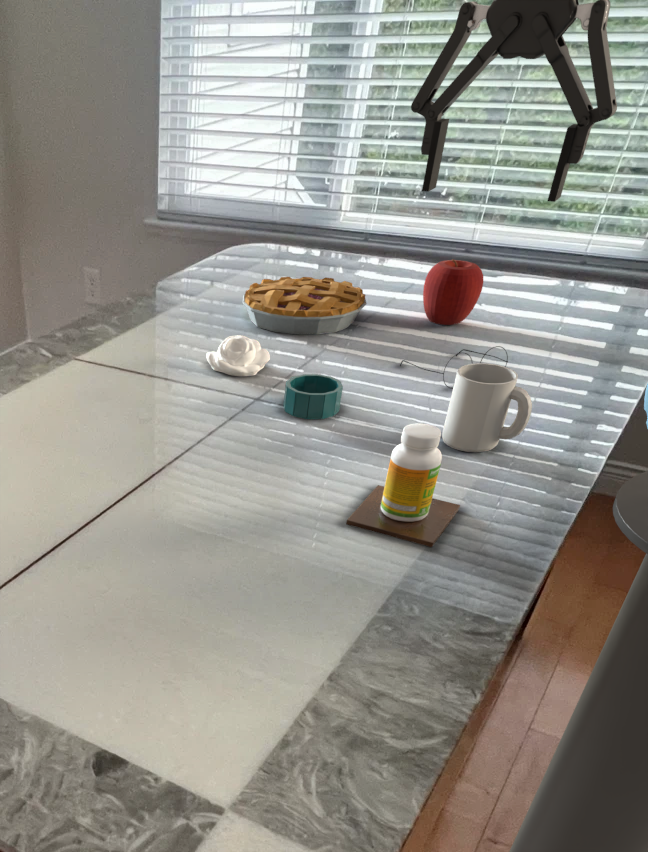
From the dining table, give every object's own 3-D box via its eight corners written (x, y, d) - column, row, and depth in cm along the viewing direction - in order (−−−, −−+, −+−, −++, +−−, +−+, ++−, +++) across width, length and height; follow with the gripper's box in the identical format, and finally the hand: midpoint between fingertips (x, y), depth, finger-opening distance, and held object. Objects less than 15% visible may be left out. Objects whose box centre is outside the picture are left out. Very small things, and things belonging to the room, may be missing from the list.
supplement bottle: (423, 526, 95) (444, 444, 88) (375, 518, 96) (392, 436, 90) (431, 505, 98) (451, 424, 92) (384, 497, 100) (401, 417, 94)
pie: (229, 332, 147) (231, 302, 143) (253, 296, 162) (255, 267, 159) (357, 342, 141) (362, 310, 138) (369, 303, 156) (374, 274, 153)
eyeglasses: (393, 366, 133) (400, 333, 129) (461, 355, 135) (469, 322, 132) (436, 392, 125) (445, 357, 121) (507, 379, 127) (517, 344, 124)
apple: (471, 315, 150) (486, 253, 143) (475, 333, 143) (491, 268, 136) (416, 313, 152) (428, 251, 145) (417, 330, 145) (430, 266, 138)
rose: (268, 326, 135) (275, 347, 128) (265, 354, 138) (272, 376, 131) (206, 327, 136) (209, 348, 129) (204, 356, 139) (208, 378, 132)
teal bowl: (346, 404, 122) (350, 380, 120) (325, 423, 118) (329, 398, 115) (297, 394, 126) (300, 370, 123) (274, 412, 121) (277, 388, 119)
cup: (450, 426, 116) (466, 359, 110) (526, 441, 111) (547, 373, 105) (433, 445, 111) (450, 377, 105) (511, 462, 107) (533, 392, 101)
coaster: (459, 509, 99) (460, 504, 98) (432, 547, 93) (433, 542, 92) (377, 489, 103) (377, 484, 102) (345, 524, 97) (346, 519, 96)
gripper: (705, -74, 76) (617, 197, 90) (432, -60, 87) (392, 180, 101) (693, -75, 72) (603, 210, 86) (407, -60, 83) (369, 191, 97)
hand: (489, 194), depth 94 cm, fingers open, 13 cm apart
